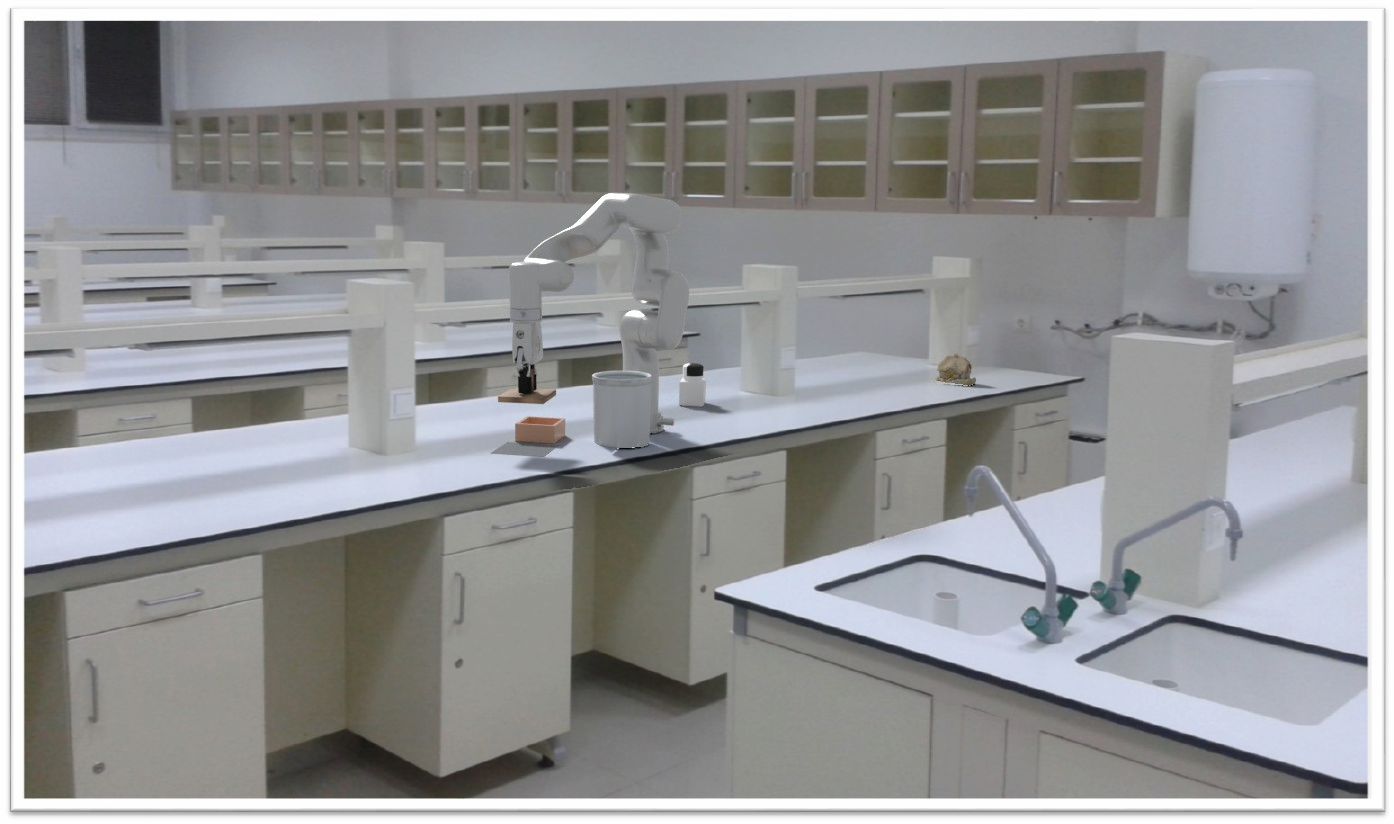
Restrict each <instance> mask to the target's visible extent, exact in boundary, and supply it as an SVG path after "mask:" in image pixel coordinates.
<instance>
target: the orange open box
mask: <svg viewBox="0 0 1394 824" xmlns="http://www.w3.org/2000/svg"><path fill="white" fill-rule="evenodd" d="M514 436H515V437H514V441H515V442H517V443H532V444H548V445H556V443H557V442H559V441H560V440H561V439H563V438H565V437H566V418H564V417H561V418H560V417H549V416H548V417H546V416H545V417H544V416H531V415H527V416H525V417H524V418H522V419H520V420H519V421H517V422H515V423H514Z"/></svg>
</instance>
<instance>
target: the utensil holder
mask: <svg viewBox="0 0 1394 824" xmlns="http://www.w3.org/2000/svg"><path fill="white" fill-rule="evenodd" d="M591 379H592V398H593V399H592V401H593V402H592V403H593V405H592V406H593V407H592V409H593V410H592V412H593V439H594V440H593V441H594V443H595V444H596V445H599V446H603V447H607V448H608V447H609V448H632V447H641V448H645V447H647V446H648V445H649V443H650V434H649V433H650V397H651V381H652V375H651V374H649V373H646V372H639V371H623V370H606V371H599V372H595V373H593V374H592V375H591ZM644 446H645V447H644Z"/></svg>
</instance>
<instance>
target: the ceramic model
mask: <svg viewBox="0 0 1394 824" xmlns="http://www.w3.org/2000/svg"><path fill="white" fill-rule="evenodd" d="M972 369H973V367H972V364H971V361H969V360H968V359H967V358H966V357H964V356H960V355H959V354H958V353H954V354H953V355H946V356H945V357H944V358H943V359H942V360H941V361H940V362H939V363H938V364H937V368H936V371H937V372H938V374H939V376H936V377H935V378H934V381H935V380H936V381H940V382H945V383H955V384H963V385H972V384H975V385H976V382H977V378H976V377H975V376H974V377H973V378H972V377H971V373H972Z"/></svg>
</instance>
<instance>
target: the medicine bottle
mask: <svg viewBox="0 0 1394 824" xmlns="http://www.w3.org/2000/svg"><path fill="white" fill-rule="evenodd" d="M706 383H707V379H705V378H704V365H702V364H701V363H696V362H692V363H691V362H689V363H685V364H683V365H682V378H681V380H680V381H679V383H678V384H679V385H678V387H679V391H678V406H679V405H682V406H681V407H700V408H701V407H704V406H705V403H706V388H707V387H706V386H707V384H706Z"/></svg>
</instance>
